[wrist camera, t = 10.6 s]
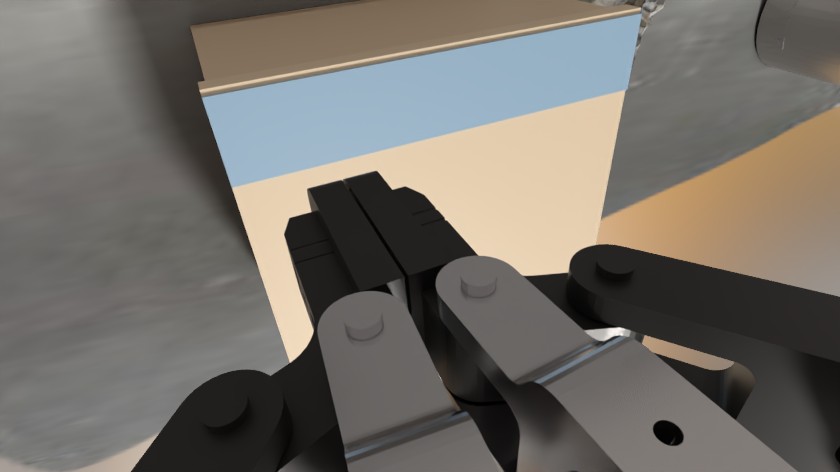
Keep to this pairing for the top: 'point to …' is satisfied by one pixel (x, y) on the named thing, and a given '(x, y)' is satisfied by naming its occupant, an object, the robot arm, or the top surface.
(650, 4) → the egg carton
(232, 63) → the cardboard box
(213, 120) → the box lid
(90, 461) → the top surface
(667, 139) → the top surface
